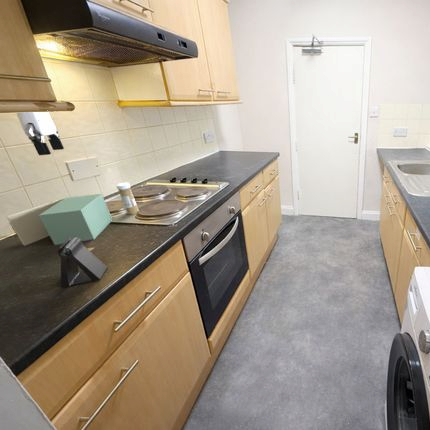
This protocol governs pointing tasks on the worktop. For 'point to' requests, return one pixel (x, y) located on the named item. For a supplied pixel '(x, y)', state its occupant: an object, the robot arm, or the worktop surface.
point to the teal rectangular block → (76, 218)
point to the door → (30, 223)
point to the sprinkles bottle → (127, 198)
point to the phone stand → (78, 264)
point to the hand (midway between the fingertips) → (52, 152)
